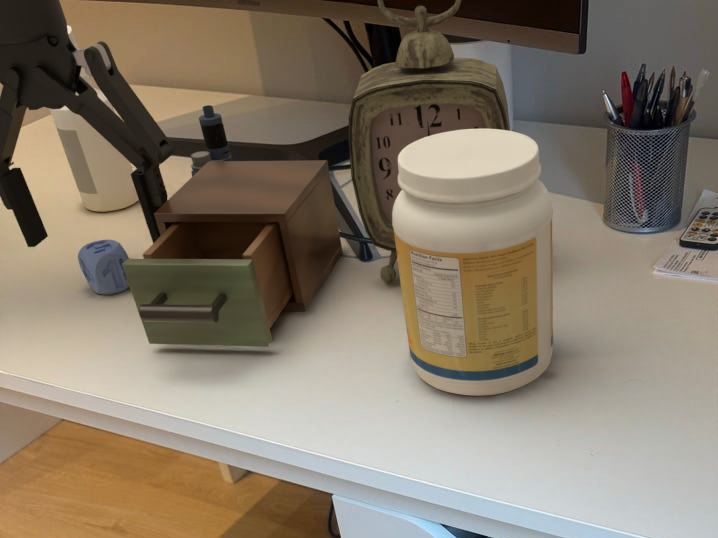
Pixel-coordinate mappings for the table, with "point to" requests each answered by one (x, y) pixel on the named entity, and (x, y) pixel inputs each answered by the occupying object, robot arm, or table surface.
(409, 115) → the tabletop clock
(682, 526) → the table surface
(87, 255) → the decorative dice
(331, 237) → the cabinet
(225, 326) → the drawer
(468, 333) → the supplement tub
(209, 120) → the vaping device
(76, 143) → the spray bottle
